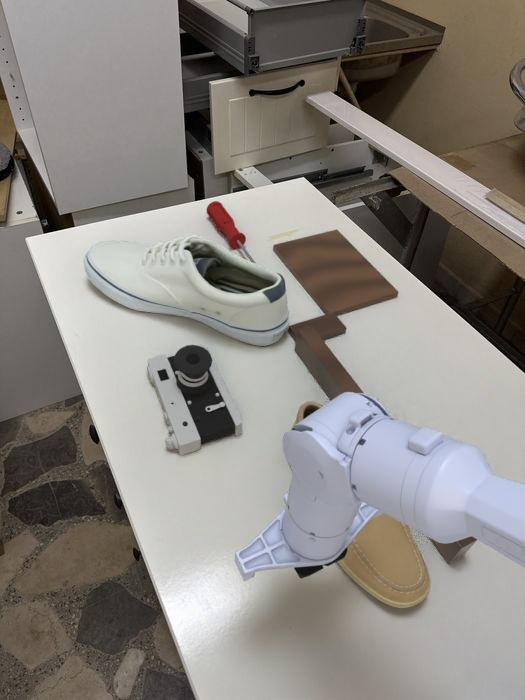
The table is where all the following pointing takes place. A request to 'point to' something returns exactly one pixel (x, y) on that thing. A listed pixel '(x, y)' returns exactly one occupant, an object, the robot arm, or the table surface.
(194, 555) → the table surface
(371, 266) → the wooden paddle board
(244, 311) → the sneaker
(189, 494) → the table surface
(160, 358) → the camera
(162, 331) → the table surface
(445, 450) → the robot arm
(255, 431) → the table surface
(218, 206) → the screwdriver
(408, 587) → the boat shoe
